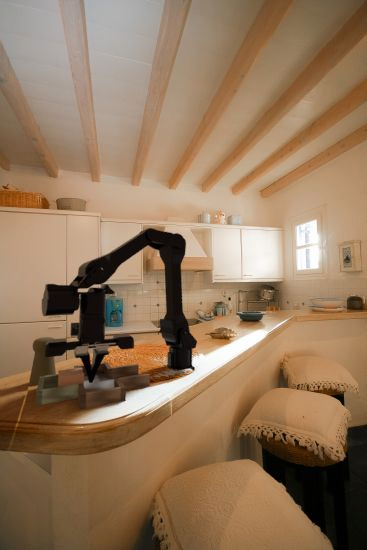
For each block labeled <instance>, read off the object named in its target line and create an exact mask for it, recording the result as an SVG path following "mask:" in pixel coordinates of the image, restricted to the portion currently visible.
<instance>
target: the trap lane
mask: <svg viewBox="0 0 367 550" xmlns="http://www.w3.org/2000/svg"><path fill="white" fill-rule="evenodd" d="M91 366H92V363H91ZM139 367H140V366H139V364H138V363H135V364H126V365H119V366H112V367H111V365H110V363H109V361H105V362H103V361H102V362H101V364H100V366H99V368H98V370H97V373H96V375H95V378H94V380H93V382H92V383H89V380H88V377H87V374H86V370H85V367H84V365H83V364H80V365H78V364H77V365H74V366H73V369H74V368H82V369H83V372H84V384H83V383H82V384H75V385H68V386H61V387H58V373H56V374H55V375H47V376H40V378H39V383H38V385H37V387H36V393H35V407H36V406H42V405H48V404H54V403H59V402H65V401H70V400H75V399H78V400H77V401H78V406H79V410H84V409H90V408H95V407H99V406H105V405H109V404H110V405H111V404H114V403H115V404H116V403H120V402H126V399H127V398H126V395H127V394H126V393H127V390H133V389H139V388H145V387H146V388H147V387H151V386H150V385H151V384H150V383H151V382H150V381H151V380H150V378H151V377H150V376H151V375H150V374H149V373H143V374H139V371H140V369H139Z"/></svg>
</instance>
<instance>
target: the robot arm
mask: <svg viewBox="0 0 367 550" xmlns="http://www.w3.org/2000/svg"><path fill="white" fill-rule="evenodd" d="M146 247H149V248H150V249H153V250H156V251H158V253H159V254H158V255H159V257H160V259H161V261H162V263H163V264H164V282H165V306H166V308H165V309H166V311H165V312H166V313H165V315H164V317H163V318H159V326H160V327H159V328H160V329H159V333H160V334H161V338H162V339H163V340H164V342H165V346H168V352H167V364H166V366H167V367H168V368H169V369H172V370H173V371H183V370H188V369H189V370H194V369H195V368H196V367H195V366H194V365H193V349H196V347H197V344H198V341H197V339H196V338H195V337H194V335H192V333H191V332H190V331H191V330H190V325H189V321H188V318H187V317H186V315H185V314H184V311H183V309H184V308H183V307H184V305H183V286H182V284H183V283H182V281H183V280H182V262H183V261H184V258H185V256H186V251H187V250H186V248H187V240H186V238H185V237H184V236H183V235H182V234H181V233H178V232H177V233H173V232H168V231H162V230H158V229H156V228H151V227H148V228H146V229H143V230H141V231H140V232H139V233H137V234H136V235H134V236H132V237H131V238H130V239H128V240H127V241H125V242H123V243H122V244H121V245H119V246H118V247H115V249H113V250H111V251H110V252H109V253H107V254H104V255H101V256H98V257H95V258H93V259H91V260H89V261H86V262H84V263H82V264H81V265H80V266H79V267H78V271H77V275H76V276H75V278H74V279H73V280H72V281H71V283H70V284H69V285H68V284H56V283H45V287H44V291H43V296H42V299H41V314H42V316H43V317H53V316H55V317H56V316H72V315H74V313H75V311H76V312H77V311H78V310H79V313H78V314H79V317H78V322H71V323H70V337H71V338H74V337H77V340H73V341H67V338H65V337H64V338H63V337H62V338H54V339H49V340H48V341H47V342H46V349H45V357H54V358H55V357H61V356H62V357H63V355H64V354H65V353H67V351H74V352H73V354H74V358H76V359H80V360H81V363H82V365H84V367H85V370H86V374H87V377H88V380H89V383H92V382H93V380H94V378H95V375H96V373H97V370H98V368H99V366H100V364H101V363H103V360H104V358H105V357H106V356H107V355H110V351H109V348H110V347H118V348H119V349H120V350H130V349H135V339H134V337H133V336H132V335H130V334H129V333H120V334H119V333H118V334H113V337H112V338H111V337H110V338H106V337H105V336H106V305H107V303H106V302H107V299H106V297H107V296H106V295H115V294H116V292H115V290H113V289H112V288H111V287H110V285H109V284H105V283H107V282H108V280H109V279H110V278H111V277H113V275H114V274H115V273H116V271H117V270H118V268H119V267H120V266H121V265H122V264H123V263H125V262H126V261H128V260H130V259H131V258H133V257H134V256H135V255H137V254H138V253H139V252H141V251H142V250H144V249H145V248H146ZM95 285H96V286H97V285H102V286H101V287H93V286H95ZM81 289H83V290H85V289H88V290H87V291H79V290H81ZM89 349H92V361H91V355H90V352H89ZM91 364H92V366H91Z"/></svg>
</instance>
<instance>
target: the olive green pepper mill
mask: <svg viewBox="0 0 367 550" xmlns="http://www.w3.org/2000/svg"><path fill="white" fill-rule="evenodd" d="M49 339H55V338H54V337H51V336H49V337H48V336H46V337H45V336H44V337H39V338H36V339H34V341H33V342H32V350H33V351H34V356H33V360H32V366H31V372H30V376H29V382H28V386H29V387H31V385H36V386H38V383H39V378H40V376H47V375H55V374H57V371H56V363H55V361H56V360H55V356H54V357H45V349H46V342H47V341H48V340H49Z"/></svg>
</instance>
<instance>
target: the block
mask: <svg viewBox="0 0 367 550" xmlns="http://www.w3.org/2000/svg"><path fill="white" fill-rule="evenodd" d="M57 372H58V373H57V374H58V387H61V386H68V385H75V384H82V383H83V384H84V372H83V369H82V368H74V367H73V368H67V369H59V370H58V371H57Z"/></svg>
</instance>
